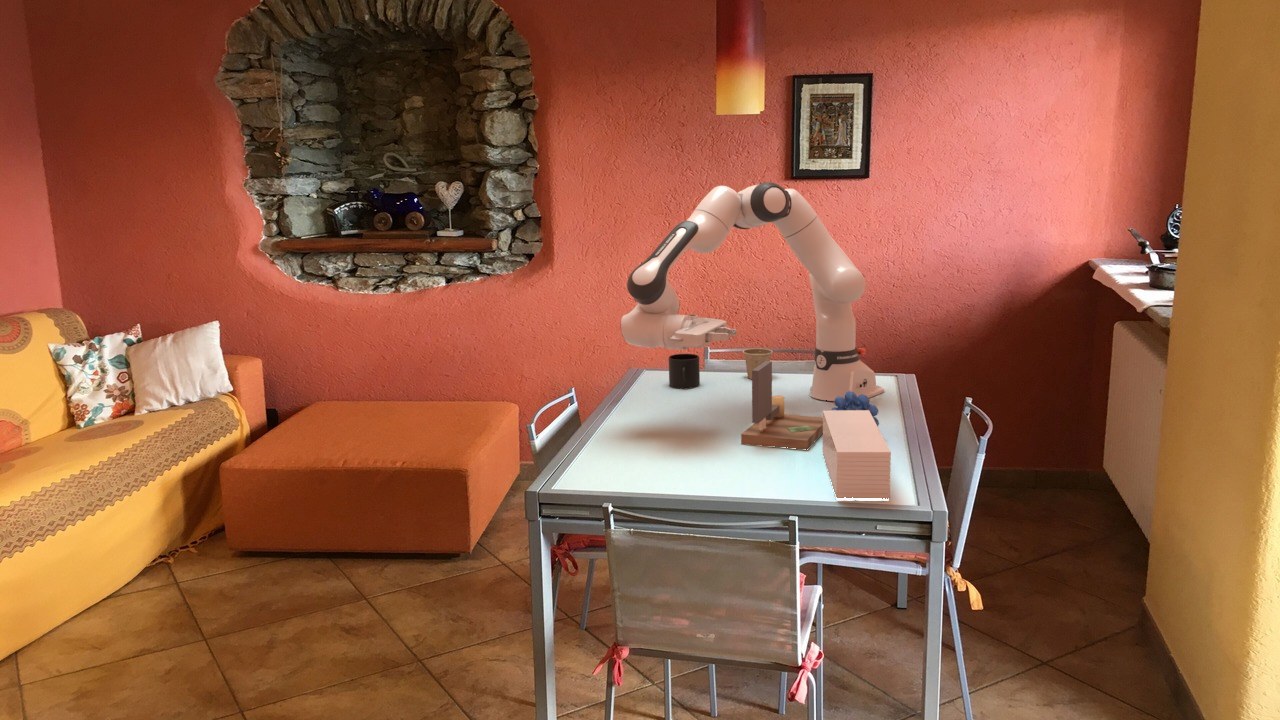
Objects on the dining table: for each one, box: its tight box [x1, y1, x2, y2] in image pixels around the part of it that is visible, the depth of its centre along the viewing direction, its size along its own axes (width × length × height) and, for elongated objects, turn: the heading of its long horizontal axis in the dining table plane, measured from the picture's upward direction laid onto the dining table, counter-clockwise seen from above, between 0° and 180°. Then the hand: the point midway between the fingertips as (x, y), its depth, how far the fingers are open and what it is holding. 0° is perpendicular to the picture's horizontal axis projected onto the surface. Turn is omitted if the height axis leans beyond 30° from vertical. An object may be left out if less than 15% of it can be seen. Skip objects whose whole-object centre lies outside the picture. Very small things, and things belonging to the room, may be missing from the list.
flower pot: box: [742, 347, 773, 380], centre depth 304 cm, size 9×9×9 cm
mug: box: [668, 353, 701, 390], centre depth 296 cm, size 9×12×9 cm
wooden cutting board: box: [740, 413, 823, 451], centre depth 243 cm, size 21×16×3 cm
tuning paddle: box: [751, 360, 785, 430], centre depth 241 cm, size 21×3×16 cm, turn 155°
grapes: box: [831, 391, 880, 427], centre depth 237 cm, size 12×7×12 cm, turn 83°
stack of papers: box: [821, 409, 892, 499], centre depth 211 cm, size 32×11×11 cm, turn 174°
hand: (732, 335), depth 239 cm, fingers open, 4 cm apart
